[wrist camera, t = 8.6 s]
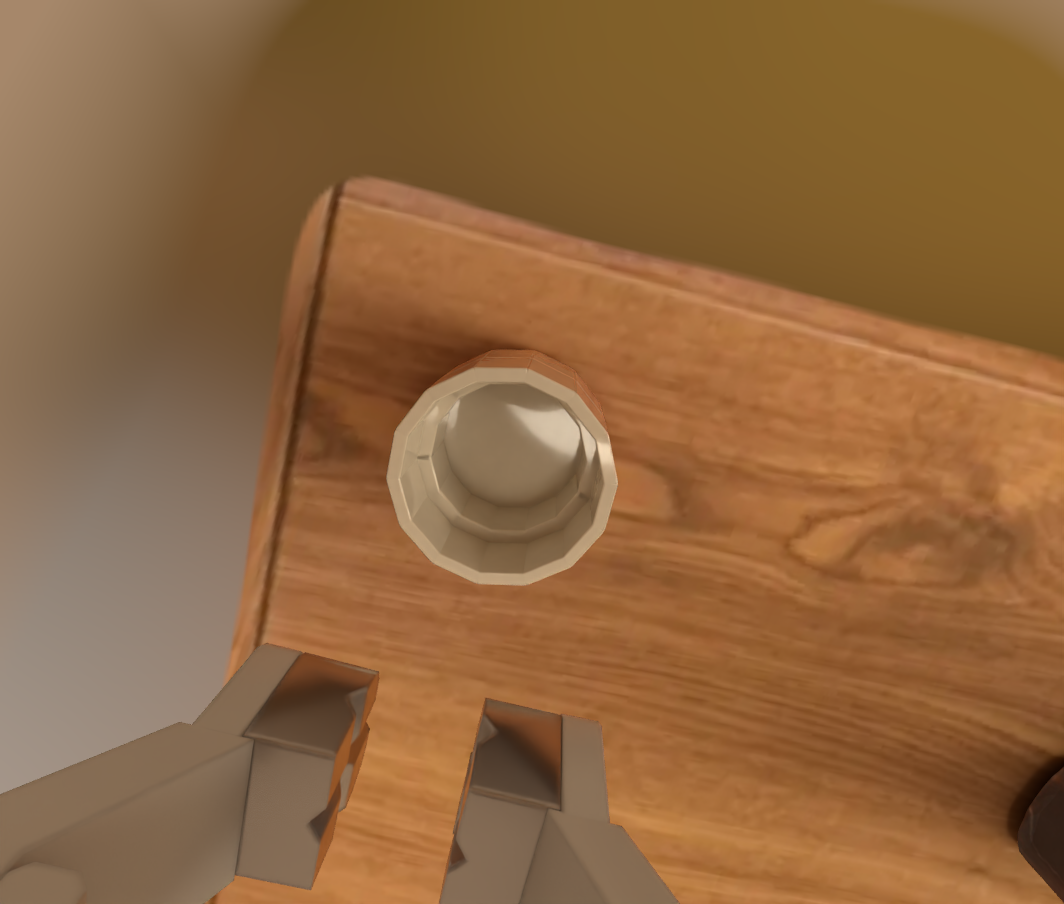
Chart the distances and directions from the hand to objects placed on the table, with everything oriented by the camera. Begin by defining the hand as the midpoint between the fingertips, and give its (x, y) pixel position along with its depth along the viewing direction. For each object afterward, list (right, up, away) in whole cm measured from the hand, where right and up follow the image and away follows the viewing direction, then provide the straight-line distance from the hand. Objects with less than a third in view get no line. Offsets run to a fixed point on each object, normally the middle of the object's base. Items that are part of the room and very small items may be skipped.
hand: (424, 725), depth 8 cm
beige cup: (+1, +4, +15) cm, 15 cm away
